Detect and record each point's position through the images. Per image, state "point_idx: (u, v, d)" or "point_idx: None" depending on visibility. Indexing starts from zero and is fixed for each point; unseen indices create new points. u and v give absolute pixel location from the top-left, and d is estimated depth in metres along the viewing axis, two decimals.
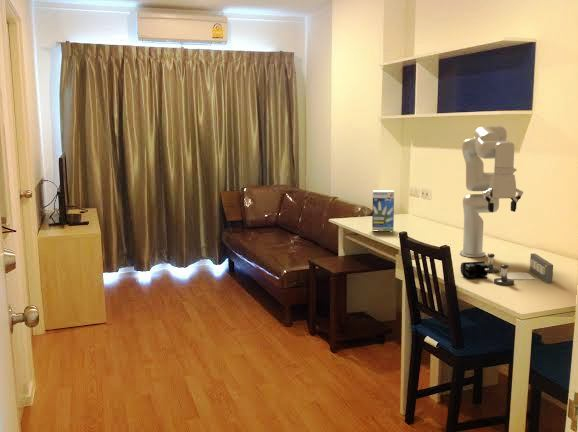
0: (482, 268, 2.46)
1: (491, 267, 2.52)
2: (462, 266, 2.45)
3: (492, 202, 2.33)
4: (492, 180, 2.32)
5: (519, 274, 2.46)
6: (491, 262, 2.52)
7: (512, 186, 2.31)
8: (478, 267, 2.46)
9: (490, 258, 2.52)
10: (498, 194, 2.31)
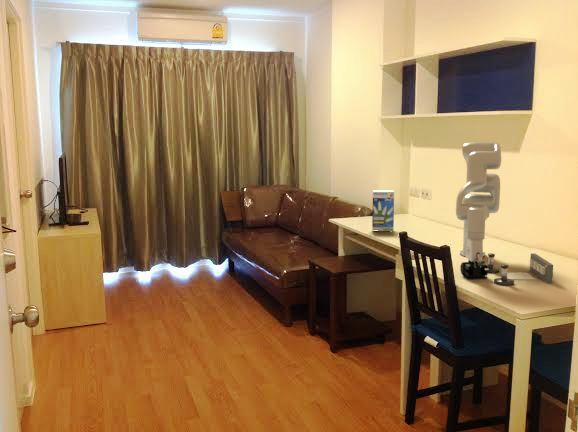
0: (482, 268, 2.46)
1: (491, 267, 2.52)
2: (462, 266, 2.45)
3: None
4: (478, 245, 2.38)
5: (519, 274, 2.46)
6: (491, 262, 2.52)
7: None
8: None
9: (490, 258, 2.52)
10: None
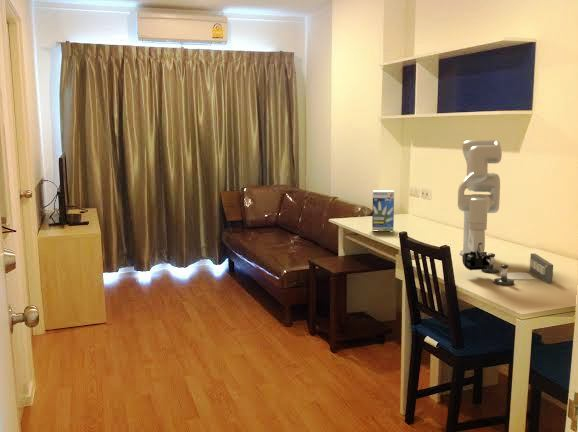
0: (484, 259, 2.45)
1: (492, 267, 2.52)
2: (464, 257, 2.44)
3: None
4: (480, 236, 2.37)
5: (519, 274, 2.46)
6: (492, 262, 2.52)
7: None
8: None
9: (491, 258, 2.52)
10: None
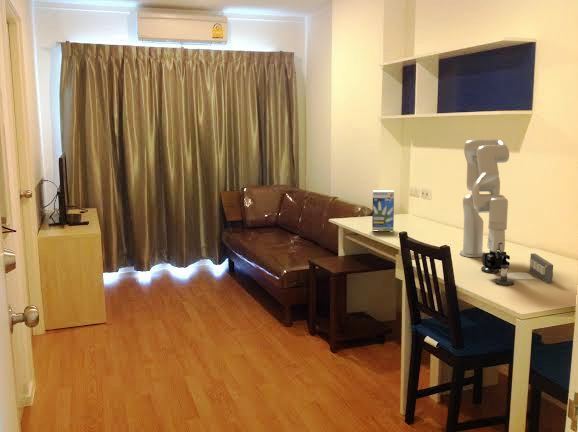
0: (504, 258, 2.44)
1: None
2: (484, 256, 2.44)
3: None
4: (500, 236, 2.37)
5: (519, 274, 2.46)
6: None
7: None
8: None
9: None
10: None
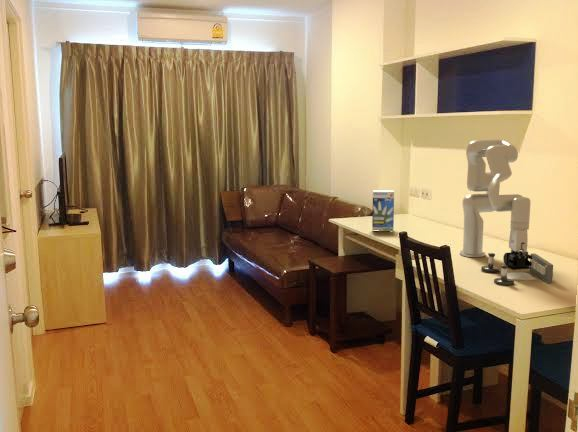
0: None
1: (492, 266, 2.53)
2: (505, 256, 2.43)
3: None
4: (523, 235, 2.36)
5: (519, 274, 2.46)
6: (493, 261, 2.52)
7: None
8: None
9: (492, 257, 2.52)
10: None
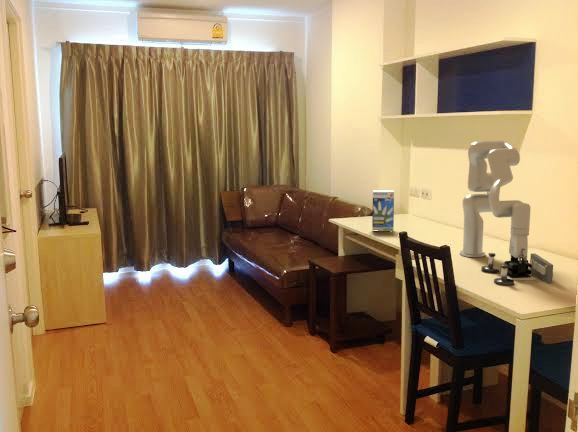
0: (526, 267, 2.44)
1: (493, 266, 2.53)
2: None
3: None
4: (523, 241, 2.36)
5: None
6: (493, 261, 2.52)
7: None
8: None
9: (493, 257, 2.52)
10: None
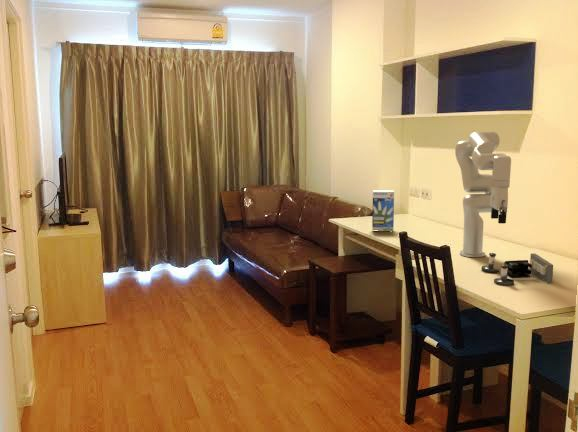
0: (526, 267, 2.44)
1: (493, 266, 2.53)
2: None
3: None
4: (503, 193, 2.41)
5: None
6: None
7: None
8: (521, 266, 2.45)
9: (494, 257, 2.52)
10: None
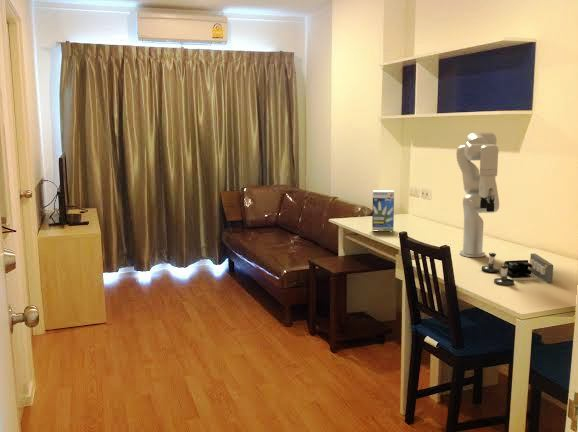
0: (526, 267, 2.44)
1: None
2: None
3: None
4: (491, 181, 2.45)
5: None
6: None
7: None
8: (521, 266, 2.45)
9: (494, 257, 2.52)
10: None
